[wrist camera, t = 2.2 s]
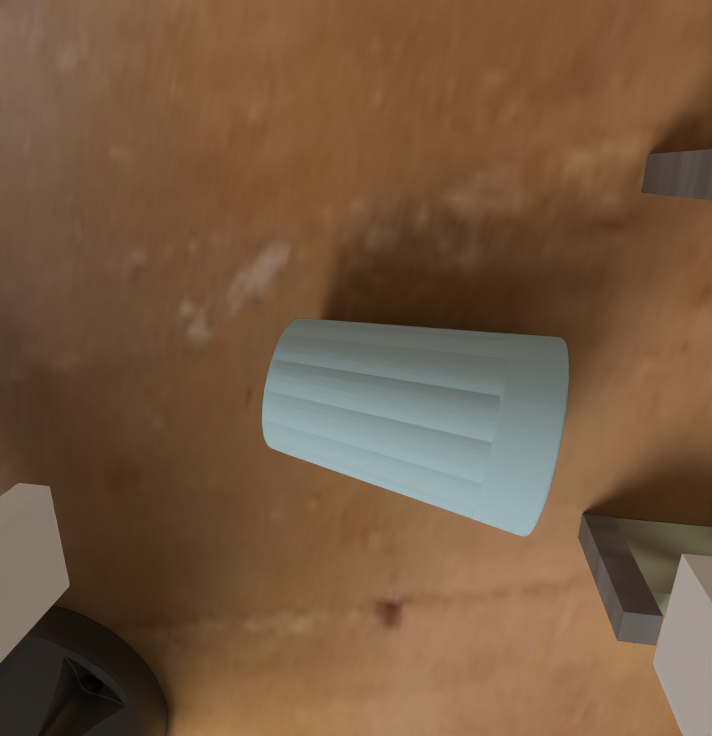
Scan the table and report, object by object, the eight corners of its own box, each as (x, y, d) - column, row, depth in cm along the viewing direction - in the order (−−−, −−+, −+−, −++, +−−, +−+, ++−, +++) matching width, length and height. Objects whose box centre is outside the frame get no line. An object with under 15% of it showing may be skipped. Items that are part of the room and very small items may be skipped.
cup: (314, 257, 23) (566, 300, 22) (314, 392, 28) (520, 436, 26) (241, 363, 18) (576, 433, 16) (256, 509, 22) (515, 575, 21)
